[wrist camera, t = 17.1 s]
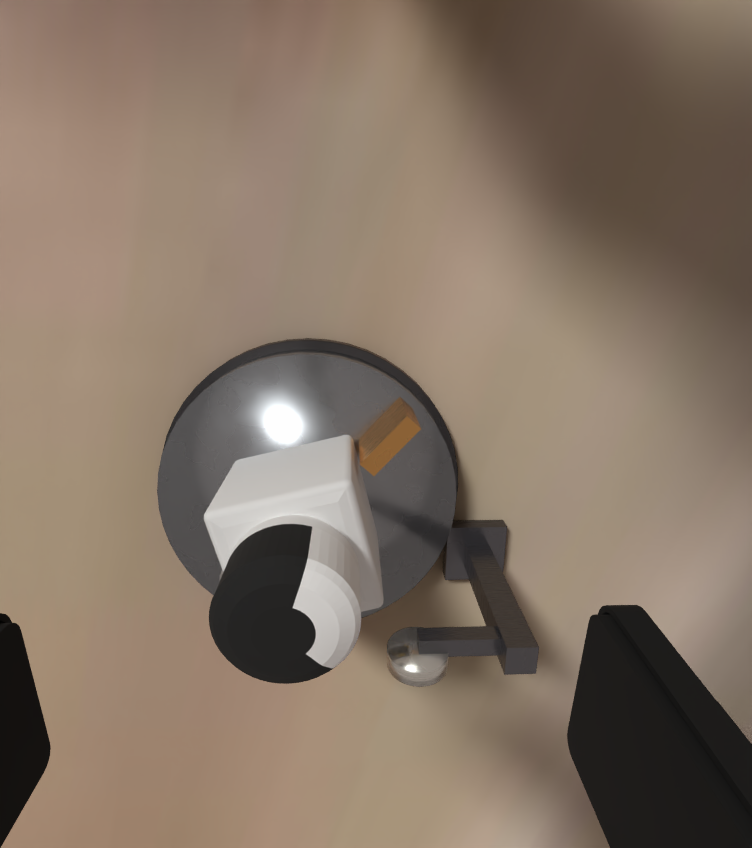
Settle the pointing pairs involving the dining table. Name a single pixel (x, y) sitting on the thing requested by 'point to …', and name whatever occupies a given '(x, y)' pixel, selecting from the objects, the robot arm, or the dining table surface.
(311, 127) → the dining table surface
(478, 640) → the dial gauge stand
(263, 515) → the medicine bottle
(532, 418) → the dining table surface
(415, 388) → the base
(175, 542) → the disc
